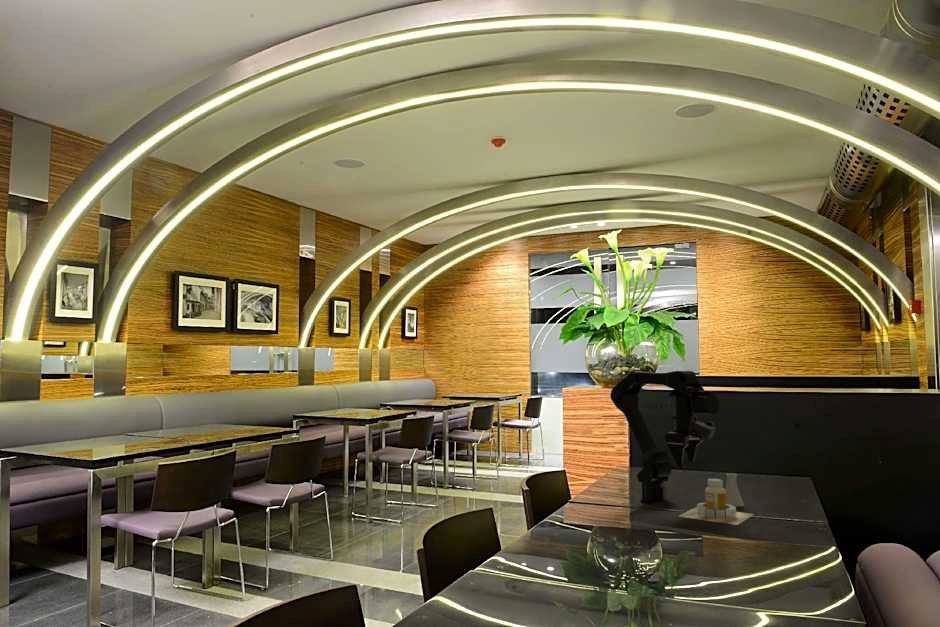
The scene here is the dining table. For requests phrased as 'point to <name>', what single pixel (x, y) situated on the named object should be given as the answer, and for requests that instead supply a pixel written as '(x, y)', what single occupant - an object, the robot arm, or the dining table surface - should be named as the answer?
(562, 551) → the dining table surface
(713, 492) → the supplement bottle
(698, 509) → the steel ring collar
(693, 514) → the birch base plate
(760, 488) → the dining table surface
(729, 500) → the flask
